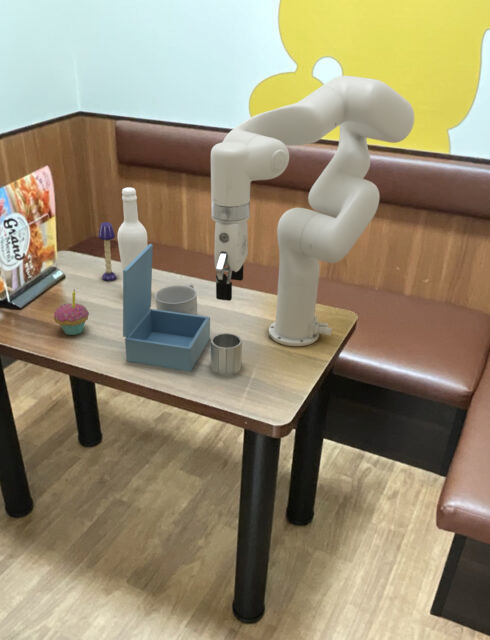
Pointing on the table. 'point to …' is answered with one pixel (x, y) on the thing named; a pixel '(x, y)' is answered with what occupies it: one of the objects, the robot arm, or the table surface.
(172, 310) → the teacup
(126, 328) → the lid
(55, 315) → the cupcake
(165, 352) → the box
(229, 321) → the table surface
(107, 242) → the toy lamp
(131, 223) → the bottle
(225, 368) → the steel cup
